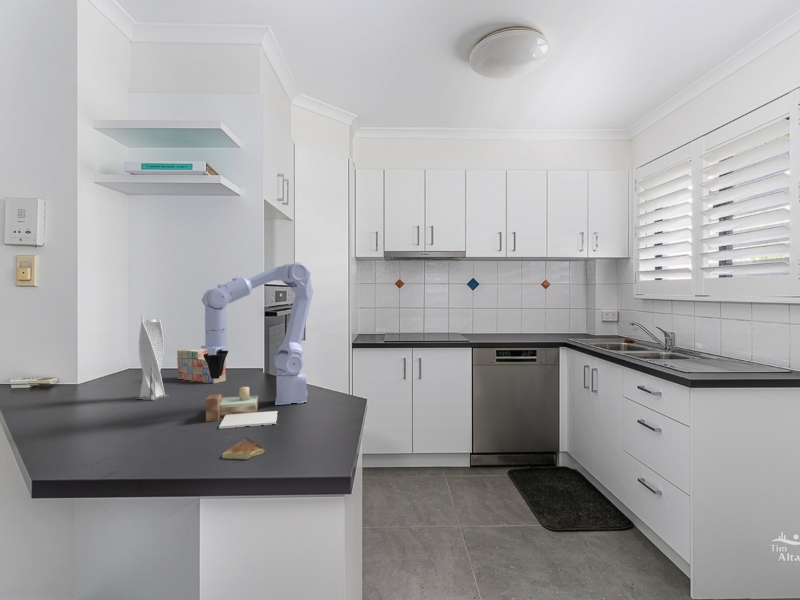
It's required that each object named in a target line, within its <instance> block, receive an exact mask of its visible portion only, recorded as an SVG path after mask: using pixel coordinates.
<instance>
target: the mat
mask: <svg viewBox="0 0 800 600" xmlns="http://www.w3.org/2000/svg"><path fill="white" fill-rule="evenodd" d="M277 413H278V410H272V411H259V412H258V411H257V412H256V413H242V414H227V415H225V416H223V419H222V420H221V422H220V424H219V426H218V429H219V430H223V429H235V428H236V427H237V428H246V427H245V426H250V427H259V426H260V427H261V425H264V426H273V425H272V424H276V425H277V422H276V421H277V420H278V414H277ZM237 428H236V429H237Z"/></svg>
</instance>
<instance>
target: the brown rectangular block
mask: <svg viewBox="0 0 800 600" xmlns="http://www.w3.org/2000/svg"><path fill="white" fill-rule="evenodd" d="M221 397H222V393H220V394H219V393H217V394H209V395H208V396H207V397H206V398H205V422H208V423H209V422H218V421H219V420H220V418H221V417H220V403H221Z"/></svg>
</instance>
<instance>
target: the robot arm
mask: <svg viewBox="0 0 800 600" xmlns="http://www.w3.org/2000/svg"><path fill="white" fill-rule="evenodd" d="M273 281H280V282H283V284H285V285H287V287H289V288H290V290H291V291H292V292H293V294H294V298H293V303H292V307H291V310H290V315H289V318H288V324H287V328H286V332H285V334H284V335H285V337H284V340H283V343H281V345H279V348H278V352H277V353H276V354H275V356H274V357H273V366H274V367H275V369H276V373H275V374H276V398H275V402H274V403H275V404H274V405H275V406H279V405H280V406H281V405H292V404H291V403H297V404H305V403H304V402H307V403H308V401H307V400H308V399H307V397H308V390H307V373H302V372H300V371H302V368H303V365H304V362H303V353H304V352H303V349H302V345H301V344H302V340H303V337H304V332H305V327H306V324H307V319H308V315H309V311H310V306H311V303H312V297H313V292H314V291H313V290H314V289H313V287H312V281H311V271H310V270H309V269H308V267H307V266H306V265H305V264H304V263H302V262H294V263H286V264H283V265H279V266H276V267H275V266H274V267H271V268H269V269H267V270H265V271H262V272H260V273H257V274H256V275H255V276H252V277H250V278H244V277H241V276H240V277H238V276H235V277H233V278H232V280H231V281H228V282H226V283H224V284H223V283H220V284H217V287H215V288H210V289H208V290H206V291H205V293H203V296H202V298H201V302H202V304H203V305H204V333H205V334H204V337H205V338H204V339H205V340H204V344H205V345H204V344H203V345H201V346H200V349H204V350H208V353H207V354H204V355H203V356H204V359H205V360H206V362H207V364H208V368H209V372H210V376H211V379H219V377H220V376H222V372H223V367H224V362H225V358H226V359H227V356H228V354H229V350H224V349H227V348H228V342H227V313H226V312H227V311H226V309H227V305H228V304H231V303H233V302H235V301H237V300H240V299H243V298H245V297H247V296H250V294H251V293H252V290H253V289H255V288H258V287H260V286H262V285H265V284H268V283H271V282H273Z"/></svg>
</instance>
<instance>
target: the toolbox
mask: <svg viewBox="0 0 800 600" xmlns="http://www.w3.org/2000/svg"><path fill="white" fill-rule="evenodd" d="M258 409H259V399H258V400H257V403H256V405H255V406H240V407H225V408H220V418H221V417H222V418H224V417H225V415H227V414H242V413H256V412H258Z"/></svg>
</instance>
